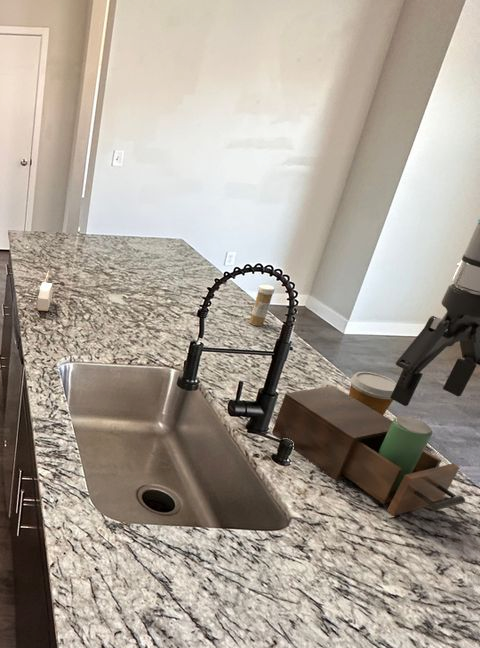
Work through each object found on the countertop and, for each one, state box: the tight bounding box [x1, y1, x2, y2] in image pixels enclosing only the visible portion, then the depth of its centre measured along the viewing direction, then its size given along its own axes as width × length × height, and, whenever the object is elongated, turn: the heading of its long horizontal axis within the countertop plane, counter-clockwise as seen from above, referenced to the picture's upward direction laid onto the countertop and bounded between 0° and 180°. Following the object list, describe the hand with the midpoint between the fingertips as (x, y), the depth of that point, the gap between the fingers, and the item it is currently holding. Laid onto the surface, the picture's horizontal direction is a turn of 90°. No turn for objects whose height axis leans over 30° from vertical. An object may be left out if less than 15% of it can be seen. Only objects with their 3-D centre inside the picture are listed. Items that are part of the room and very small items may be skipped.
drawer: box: [342, 435, 466, 517], centre depth 105 cm, size 20×13×9 cm, turn 17°
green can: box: [378, 415, 433, 492], centre depth 104 cm, size 6×6×14 cm
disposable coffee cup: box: [348, 371, 397, 416], centre depth 127 cm, size 10×10×12 cm
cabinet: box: [271, 385, 393, 482], centre depth 117 cm, size 17×14×11 cm
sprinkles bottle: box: [248, 284, 275, 327], centre depth 178 cm, size 5×5×13 cm
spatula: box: [36, 270, 53, 312], centre depth 195 cm, size 38×8×4 cm
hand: (425, 397), depth 99 cm, fingers open, 13 cm apart
